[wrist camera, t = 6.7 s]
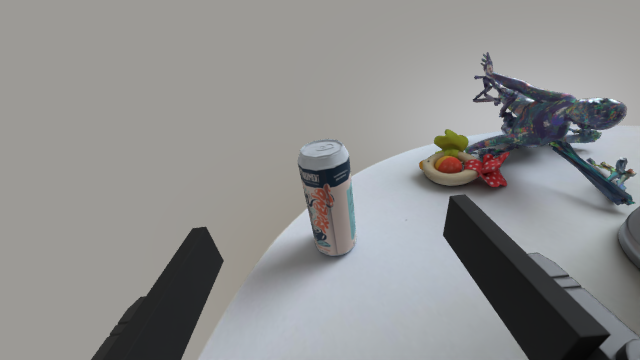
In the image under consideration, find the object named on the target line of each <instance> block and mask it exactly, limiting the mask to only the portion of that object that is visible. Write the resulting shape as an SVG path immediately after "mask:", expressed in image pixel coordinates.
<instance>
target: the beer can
mask: <svg viewBox="0 0 640 360" xmlns="http://www.w3.org/2000/svg"><path fill="white" fill-rule="evenodd" d="M298 165H299V170H300V175H301V179H302V183H303V188H304V193H305V197H306V202H307V207H308V211H309V216H310V221H311V225H312V230H313V234H314V239H315V244H316V247H317V248H318V250H319V251H321V252H322V253H324V254H326V255H330V256H338V255H342V254H345V253H347V252H349V251H350V250H351V249H352V248H353V247H354V246H355V244H356V240H357V239H356V228H355V217H354V205H353V194H352V183H351V172H350V162H349V153H348V151H347V150H346V148H345V147H344V145H343V143H341V142H340V141H338V140H330V139H325V140H318V141H313V142H311V143H309V144H306V145H304V146H303V148H302V149H301V150H300V154H299V158H298Z"/></svg>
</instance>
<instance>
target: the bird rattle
mask: <svg viewBox="0 0 640 360" xmlns="http://www.w3.org/2000/svg"><path fill="white" fill-rule="evenodd" d="M445 134H446V135H445V136H437V137H436V138H435V140H434V144H436V145H437V146H438V147H440V148H441V149H442V150H441V151H438V152H436V153H435V154H434V155H432V156H430V157H429V158H428V159H426V160H423V161H421V162H420V163H419V167H420V169H422V170H423V171H424V173H425V175H426V176H427V177H428V178H429V179H430V180H432V181H434V182H436V183H438V184H442V185H449V186H454V185H462V184H466V183H468V182H470V181H472V180H474V179H477V178H478V177H479V176H481V177H482V178H483V179H484V180H485V181H486V182H487V184H489V185H490V186H491V187H498V186H499V185H502V186H507V183H506V180H505V179H504V178H503V176H502V174H501V173H500V170H499V168H500V167H501V164H502V163H503V162H504V160H505V159H506V158H507V157H508V155H509V154H510V153H509V152H507V153H504V154H502V155H500V156H499V157H497V158H495V157H493V156H492V155H491V154H486V155H485V156H484V157H483V163H482V162H481V161H480V160H478V159H476V158H475V157H474V156H472V155H470V154H467V153H464V152H463V151H464V150H465V148H466V147H467V146H468V139H467V138H466V137H465V136H463V135H457V134H456V133H454V132H453V131H451V130H448V129H447V130H445ZM462 164H463V165H464V170H463V167H462ZM462 170H463V171H462Z"/></svg>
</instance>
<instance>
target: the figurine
mask: <svg viewBox="0 0 640 360" xmlns="http://www.w3.org/2000/svg"><path fill="white" fill-rule="evenodd" d="M483 56H484V57H485V58H486V59H487V61H486V60H485V59H483V58H482V61H483V62H485V64H483V63H481V64H482V65H483V66H484V72H485V75H486V76H475V77H474V78H475V79H479V78H483V83H484V87H485V89H484V90H483V91H482V92H481V93H480V94H479V95H477V96H476V98H475V99H473V102H491V101H494V105H495V106H498V104H500V103H501V102H502V103H503V104H504V105H503V107H502V108H501V110H500V116H499V117H502V118H503V117H504V120H503V122H504V124H503V125H502V127H501V129H502V132H503V133H504V135H499V136H495V137H492V138H488V139H485V140H483V141H480V142H478V143H475V144H473V145H471V146H468V147H466V148H465V152H466V153H467V154H470V155H471V154H478V153H479V157H480V158H481V157H484V156H485V155H486V154H491V155H492V156H493V157H494V156H498V155H502V154H504V153H506V152H508V151H510V150H513V149H514V148H518V145H522V146H524V147H537V146H542V145H545V144H548V143H549V145H551V146H552V147H553V150H554V151H555V152H557V153H558V154H559V155H561V156H562V157H563V158H565V159H566V160H567V161H569V162H570V163H571V164H572V165H574V166H575V167H576V168H577V169H578V170H579V171H580V172H581V173H582V174H583V175H584V176H585V177H586V178H587V179H588V180H589V181H590V182H591V183H592V184H593V185H594V186H595V187H596V188H598V189H599V190H600V191H601V192H602V193H603V194H604V195H605V196H607V197H608V198H609V199H610V200H611V201H612V202H614V203H615V204H616V205H620V204H624V203H625V204H627V205H631V204H634V203H635V202H633V201H632V197H631V195H629V194H628V193H626V192H625V190H624V189H626V187H625V186H624V181H625V180H627V179H629V177H634V176H635V175H636V173H635V172H634V171H632V169H629V170H628V171H625V170H624V169H625V167H626V164H627V159H626V158H622V157H621V158H620V159H619V160H618V161H617V163H616V169H614V168H613V167H612V166H610V165H608V164H606V163H605V162H602V163H601V164H600V165H602V166H600V165H596V164H595V161H593V160H592V159H591V158H589V159H587V161H588V162H589V163H590V164H592V165H594V166H598V167H600V168H605V169H606V170H608V171H611V175H610V176H609V177H608V178H605V177H604V176H603V175H601V174H600V173H599V172H598V171H596V170H595V169H594V168H593V167H591V166H590V165H589V164H588V163H586V162H585V161H584V160H583V159H581V158H580V157H579V156H578V155H577V154H576V152H575V151H574V150H573V148H572V147H571V145H570V144H569V143H589V142H595V140H597V139H599V138H600V136H601V135H600V134H602V132H597V131H596V130H604V129H609V128H612V127H614V126H616V125H617V124H618V123H620V122H621V121H622V120H623V119H624V117H625V116H626V113H627V107H626V106H625V104H623V103H622V102H620V101H616V100H612V99H607V98H606V99H603V98H587V99H580V100H577V99H576V98H575V97H574V96H573V95H570V94H567V93H558V92H553V91H549V90H545V89H542V88H538V87H535V86H532V85H530V84H529V83H527V82H525V81H523V80H519V79H515V78H511V77H508V76H504V75H500V74H498V73H495V72H493V67H492V66H493V65H492V61H491V59H490V56H489V53H488V52H487V56H486V55H485V54H483ZM502 86H504V87H506V88H508V89H506V88H502ZM492 87H493V88H494V89H496V90H497V91H498V92H499V95H498V98H493V97H492V96H490V95H488V94H486V93H487V92H488V91H490V90H491V89H492ZM509 89H510V90H509ZM482 94H484V96H485V97H486V98H482V99H477V98H479V97H480V96H481V95H482ZM507 108H508V109H509V110H511V112H508V113H507V112H505V111H506V109H507ZM512 112H513V113H514V114H515V115H516V116H518V117H513V116H512ZM571 122H573V124H577V125H578V127H579V128H581V129H580V130H578V129H576V130H573V129H571V128H569V127H570V124H571ZM585 129H586V130H585ZM591 129H594V130H593V131H592V130H591ZM568 130H570V131H572V132H573V133H574V134H575V133H579V134H575V135H566V134H567V132H568ZM594 138H597V139H594ZM500 144H512V145H510V146H507V147H504V148H501V149H498V150H496V149H493V148H492V149H490V148H489V149H485V150H484V149H482V148H486V147H491V146H496V145H500ZM478 149H482V150H479V151H478V153H476V152H473V151H475V150H478ZM616 178H618V179H619V180H617V181H616V182H617V185H615V184H614V183H612V182H611V181H612V180H614V179H616Z"/></svg>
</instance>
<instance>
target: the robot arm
mask: <svg viewBox="0 0 640 360" xmlns="http://www.w3.org/2000/svg"><path fill="white" fill-rule="evenodd" d="M443 236H444V237H445V239H446V240H447V242H448V243H449V245H450V246H451V248H452V249H453V250H454V252H455V253H456V255H457V256H458V258H459V259H460V261H461V262H462V263H463V265H464V266H465V268H466V269H467V271H468V272H469V274H470V275H471V276H472V278H473V279H474V281H475V282H476V284H477V285H478V287H479V288H480V289H481V291H482V292H483V294H484V295H485V297H486V298H487V299H488V301H489V302H490V304H491V305H492V307H493V308H494V310H495V311H496V312H497V314H498V315H499V317H500V318H501V320H502V321H503V323H504V324H505V325H506V327H507V328H508V330H509V331H510V333H511V334H512V336H513V337H514V338H515V340H516V341H517V343H518V344H519V346H520V347H521V348H522V350H523V351H524V353H525V354H526V356H527V357H528V359H529V360H640V337H639V336H638V335H637V334H636V333H634V332H633V331H632V330H631V329H629V328H628V327H627V326H626V325H625V324H624V323H623V322H622V321H620V320H619V319H618V318H617V317H616V316H615V315H614V314H612V313H611V312H610V311H609V310H608V309H607V308H606V307H605V306H603V305H602V304H601V303H600V302H599V301H598V300H597V299H596V298H594V297H593V296H592V295H591V294H590V293H589V292H588V291H586V290H585V289H584V288H581V285H580V284H579V283H577V282H576V281H575V280H574V279H573V278H570V277H569V275H568V274H567V273H566V272H565V271H564V270H563V269H562V268H560V267H559V266H558V265H557V264H556V263H555V262H553V261H551V260H550V259H548V258H546V257H544V256H543V255H541V254H539V253H530V254H527V253H526V252H525V251H524V250H523V249H522V248H521V247H520V246H518V245H517V244H516V243H515V242H514V241H513V240H512V239H511V238H510V237H509V236H508V235H507V234H506V233H505V232H504V231H503V230H502V229H501V228H500V227H499V226H498V225H497V224H496V223H494V222H493V221H492V220H491V219H490V218H489V217H488V216H487V215H486V214H485V213H484V212H483V211H482V210H481V209H480V208H479V207H478V206H477V205H476V204H475V203H474V202H473V201H471V200H470V199H469V198H468V197H467V196H466V195H465V194H464V195H456V196H450V199H449V204H448V210H447V216H446V221H445V227H444V232H443ZM619 241H620V244H621V246H622V248H623V250H624V252H625V253H626V254H627V256H628V257H629V258H630V259H631V260H632V262H633V263H634V264H635V265H636V266H637V267H638V268H639V269H640V207H638V208H637V209H636V210H635V211H633V212H632V213H631V214H630V215H629V216H628V218H627V219H626V221H625V222H624V224H623V225H622V226H621V228H620V230H619ZM222 263H223V259H222V257H221V255H220V253H219V251H218V249H217V247H216V245H215V243H214V241H213V239H212V237H211V235H210V233H209V232H208V230H207V228H206V227H200V228H193V229H192V230H191V232H190V233H189V234H188V236H187V237H186V239H185V240H184V242H183V243H182V245H181V246H180V248H179V249H178V250H177V252H176V253H175V255H174V256H173V258H172V259H171V261H170V262H169V264H168V265H167V266H166V268H165V269H164V271H163V272H162V274H161V275H160V277H159V278H158V280H157V281H156V283H155V284H154V285H153V287H152V288H151V290H150V292H149V293H148V294H147V296H145V297H140V298H139V299H138V300H137V301H136V302H135V303H134V304H133V305H132V306H130V307H129V308H128V310H127V311H126V312H125V314H124V315H123V317H122V318H121V319H120V321H119V322H118V325H116V326H115V327H114V329H113V330H112V332H111V333H110V336H109V337H107V338H106V340H105V341H104V343H103V344H102V345H101V347H100V348H99V350H98V351H97V352H96V354H95V355H94V356H93V358H92V359H91V360H181V358H182V356H183V354H184V351H185V349H186V347H187V344H188V342H189V340H190V338H191V335H192V333H193V330H194V328H195V326H196V324H197V321H198V319H199V317H200V314H201V312H202V310H203V307H204V305H205V303H206V300H207V298H208V296H209V294H210V291H211V289H212V287H213V284H214V282H215V280H216V277H217V275H218V273H219V270H220V268H221V266H222Z"/></svg>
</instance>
